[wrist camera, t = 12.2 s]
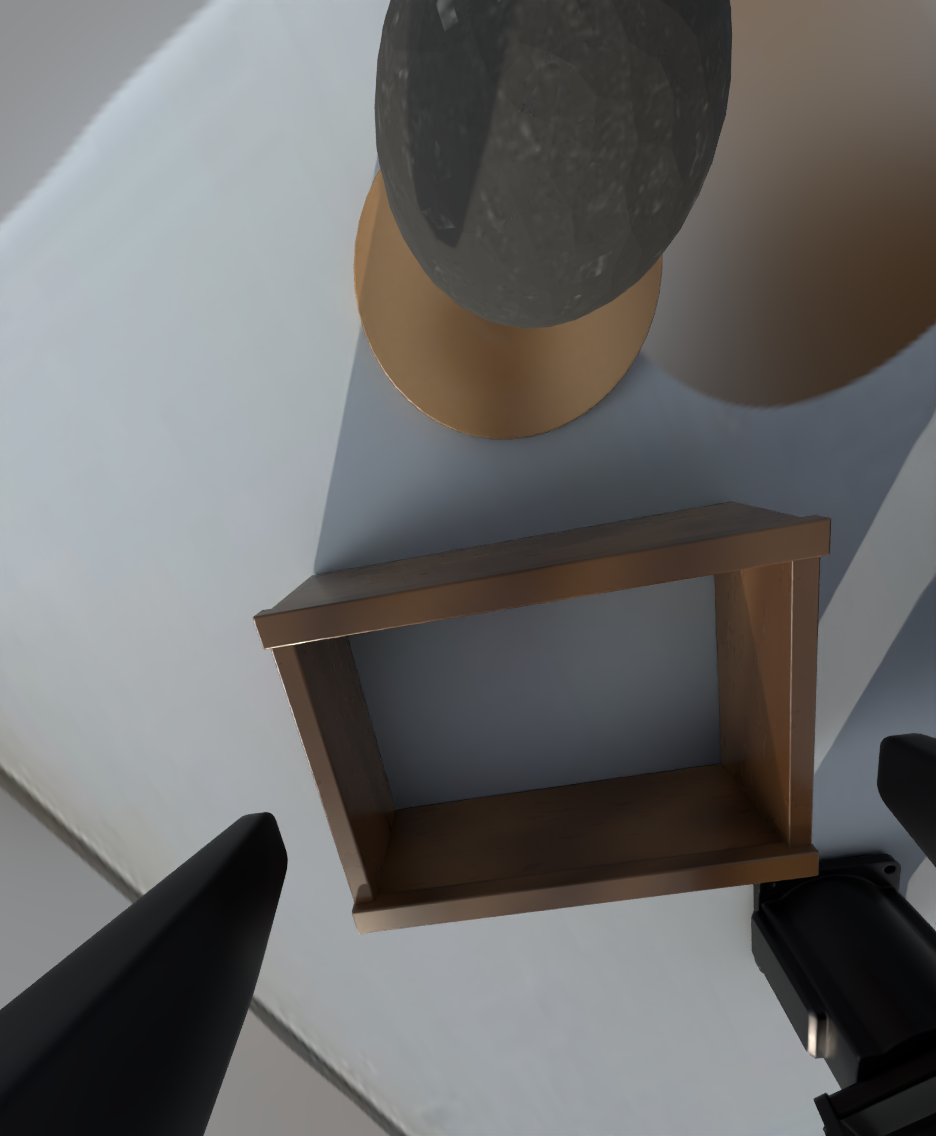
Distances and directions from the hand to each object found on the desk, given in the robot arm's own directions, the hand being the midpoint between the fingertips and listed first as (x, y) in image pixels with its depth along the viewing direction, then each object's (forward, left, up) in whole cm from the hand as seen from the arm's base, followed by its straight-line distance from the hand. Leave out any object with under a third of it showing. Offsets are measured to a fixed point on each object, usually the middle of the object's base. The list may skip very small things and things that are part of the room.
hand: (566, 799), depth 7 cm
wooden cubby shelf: (-1, +5, -12) cm, 13 cm away
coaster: (-2, -10, -12) cm, 15 cm away
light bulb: (-2, -10, -11) cm, 15 cm away
